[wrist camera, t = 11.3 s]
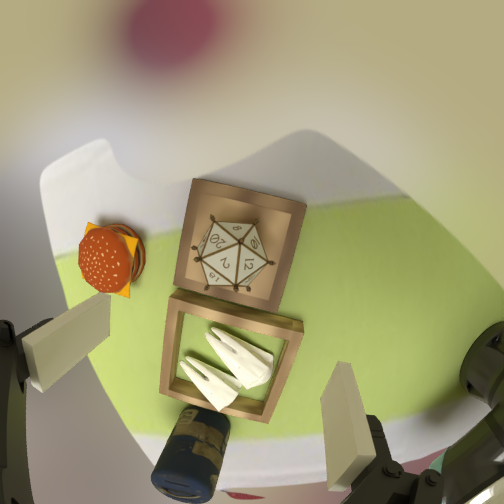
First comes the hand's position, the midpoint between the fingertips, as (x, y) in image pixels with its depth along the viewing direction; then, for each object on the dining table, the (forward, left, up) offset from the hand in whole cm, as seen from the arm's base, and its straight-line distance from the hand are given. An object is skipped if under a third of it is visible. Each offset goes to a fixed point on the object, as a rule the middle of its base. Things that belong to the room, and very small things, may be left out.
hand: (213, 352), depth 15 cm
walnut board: (+3, -1, -24) cm, 24 cm away
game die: (+2, -1, -21) cm, 21 cm away
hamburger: (+20, +5, -24) cm, 31 cm away
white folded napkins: (+1, +16, -24) cm, 29 cm away
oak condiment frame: (+1, +16, -24) cm, 29 cm away
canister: (+2, +32, -24) cm, 40 cm away
